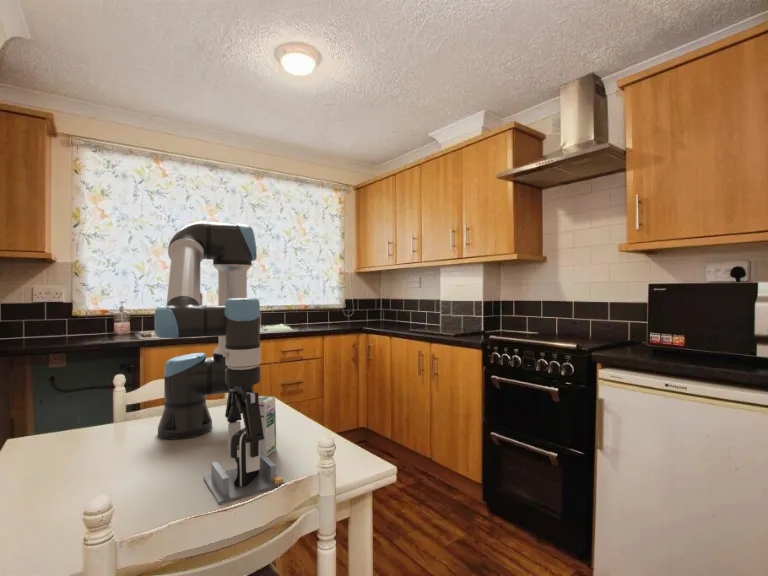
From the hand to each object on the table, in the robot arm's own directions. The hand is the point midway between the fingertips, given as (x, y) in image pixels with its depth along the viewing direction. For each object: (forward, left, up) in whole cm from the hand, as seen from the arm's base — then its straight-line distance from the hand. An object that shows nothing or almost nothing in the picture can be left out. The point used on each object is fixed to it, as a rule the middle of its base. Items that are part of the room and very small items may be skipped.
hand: (243, 459), depth 94 cm
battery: (+1, 0, -4) cm, 5 cm away
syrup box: (-14, +9, -5) cm, 17 cm away
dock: (0, 0, -5) cm, 5 cm away
